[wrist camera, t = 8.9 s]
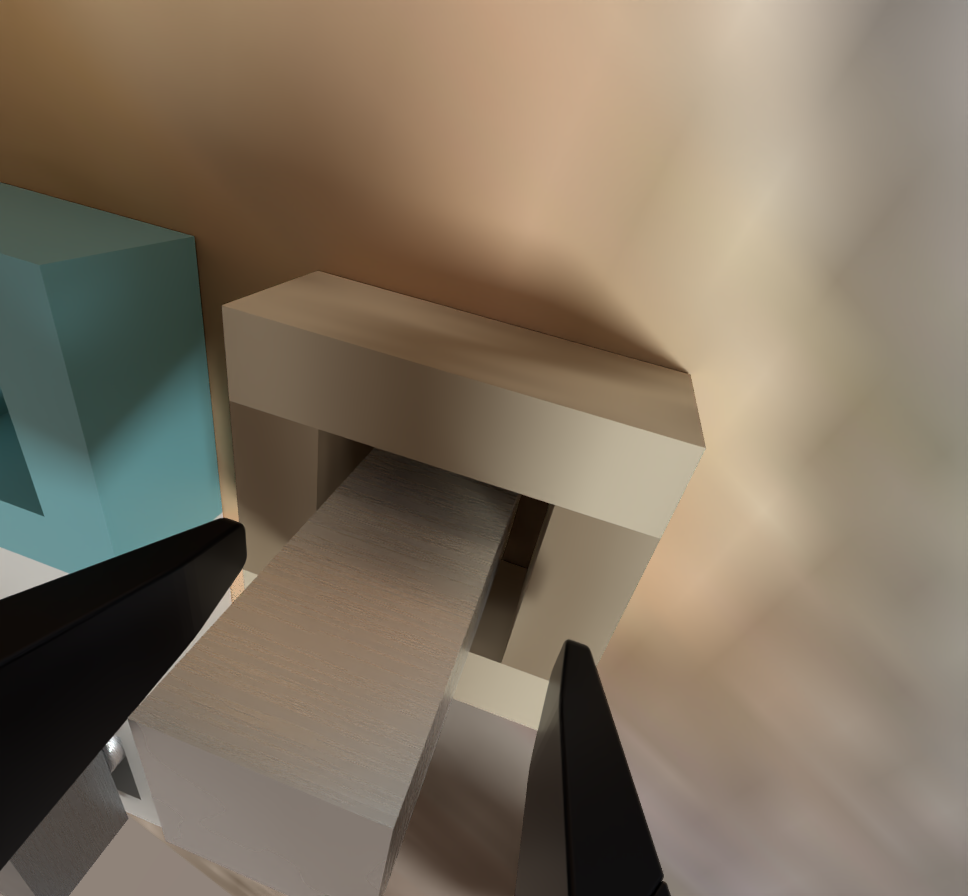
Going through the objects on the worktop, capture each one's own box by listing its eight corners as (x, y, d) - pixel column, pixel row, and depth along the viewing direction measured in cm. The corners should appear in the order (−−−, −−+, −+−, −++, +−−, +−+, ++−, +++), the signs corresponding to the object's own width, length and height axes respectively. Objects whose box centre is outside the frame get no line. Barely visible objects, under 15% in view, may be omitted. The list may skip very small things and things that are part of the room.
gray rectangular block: (190, 638, 20) (-2, 845, 14) (204, 720, 23) (51, 918, 17) (100, 604, 20) (-122, 788, 14) (125, 688, 23) (-50, 869, 17)
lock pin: (536, 443, 12) (393, 829, 5) (508, 540, 13) (370, 932, 7) (413, 405, 12) (127, 717, 5) (399, 504, 14) (166, 840, 7)
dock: (194, 236, 11) (38, 265, 9) (246, 752, 23) (188, 839, 20) (-99, 154, 12) (-328, 155, 10) (93, 688, 24) (16, 762, 21)
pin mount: (690, 374, 10) (705, 448, 8) (574, 635, 14) (560, 738, 12) (317, 270, 11) (222, 305, 9) (312, 543, 15) (246, 620, 13)
